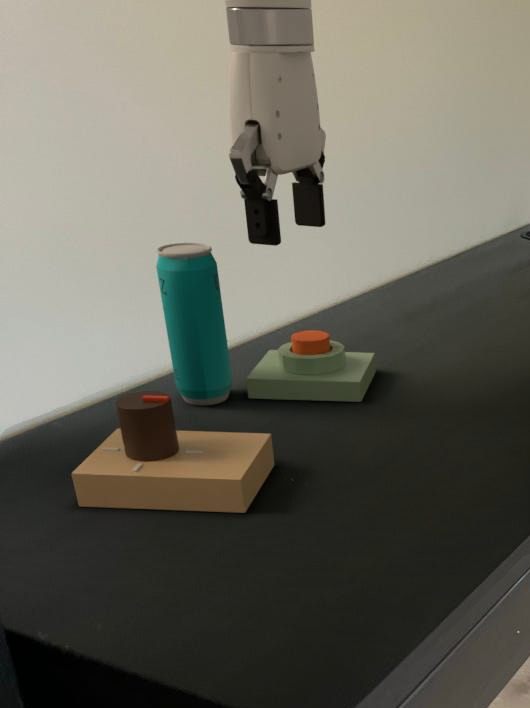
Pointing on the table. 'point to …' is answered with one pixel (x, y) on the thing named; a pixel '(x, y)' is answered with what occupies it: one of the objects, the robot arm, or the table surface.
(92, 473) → the dial panel
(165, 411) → the dial
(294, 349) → the switch button
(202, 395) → the beverage can
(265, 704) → the table surface
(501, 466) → the table surface
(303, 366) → the switch base
